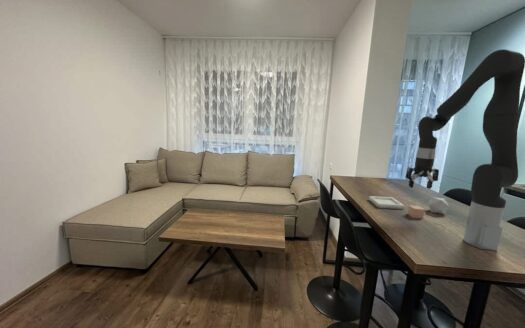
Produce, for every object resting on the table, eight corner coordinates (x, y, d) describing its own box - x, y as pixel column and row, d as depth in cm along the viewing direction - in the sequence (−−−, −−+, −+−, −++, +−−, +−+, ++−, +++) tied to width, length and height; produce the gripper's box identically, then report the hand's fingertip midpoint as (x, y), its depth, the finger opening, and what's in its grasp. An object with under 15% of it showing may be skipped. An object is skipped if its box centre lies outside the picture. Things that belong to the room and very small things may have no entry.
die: (444, 212, 124) (434, 195, 128) (456, 210, 116) (445, 192, 119) (431, 217, 124) (420, 201, 127) (442, 215, 115) (431, 198, 119)
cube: (422, 218, 113) (424, 209, 112) (412, 217, 113) (414, 208, 113) (417, 214, 118) (418, 205, 117) (407, 214, 118) (408, 205, 117)
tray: (403, 209, 125) (404, 205, 124) (378, 207, 126) (378, 203, 125) (391, 201, 138) (392, 197, 138) (369, 199, 140) (369, 196, 139)
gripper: (414, 157, 107) (409, 189, 110) (445, 158, 106) (439, 191, 109) (406, 155, 114) (401, 185, 117) (435, 156, 113) (429, 186, 116)
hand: (419, 187), depth 113 cm, fingers open, 8 cm apart
